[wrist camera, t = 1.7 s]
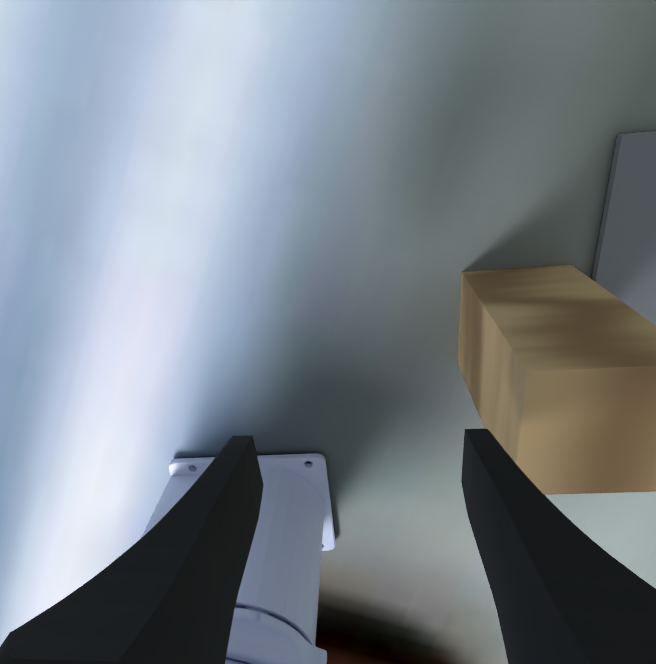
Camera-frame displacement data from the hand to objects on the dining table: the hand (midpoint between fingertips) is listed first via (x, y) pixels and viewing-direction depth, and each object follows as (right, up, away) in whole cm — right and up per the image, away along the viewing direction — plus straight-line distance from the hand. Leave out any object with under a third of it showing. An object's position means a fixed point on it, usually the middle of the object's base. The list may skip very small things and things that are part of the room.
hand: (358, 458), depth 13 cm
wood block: (+8, +4, +9) cm, 13 cm away
